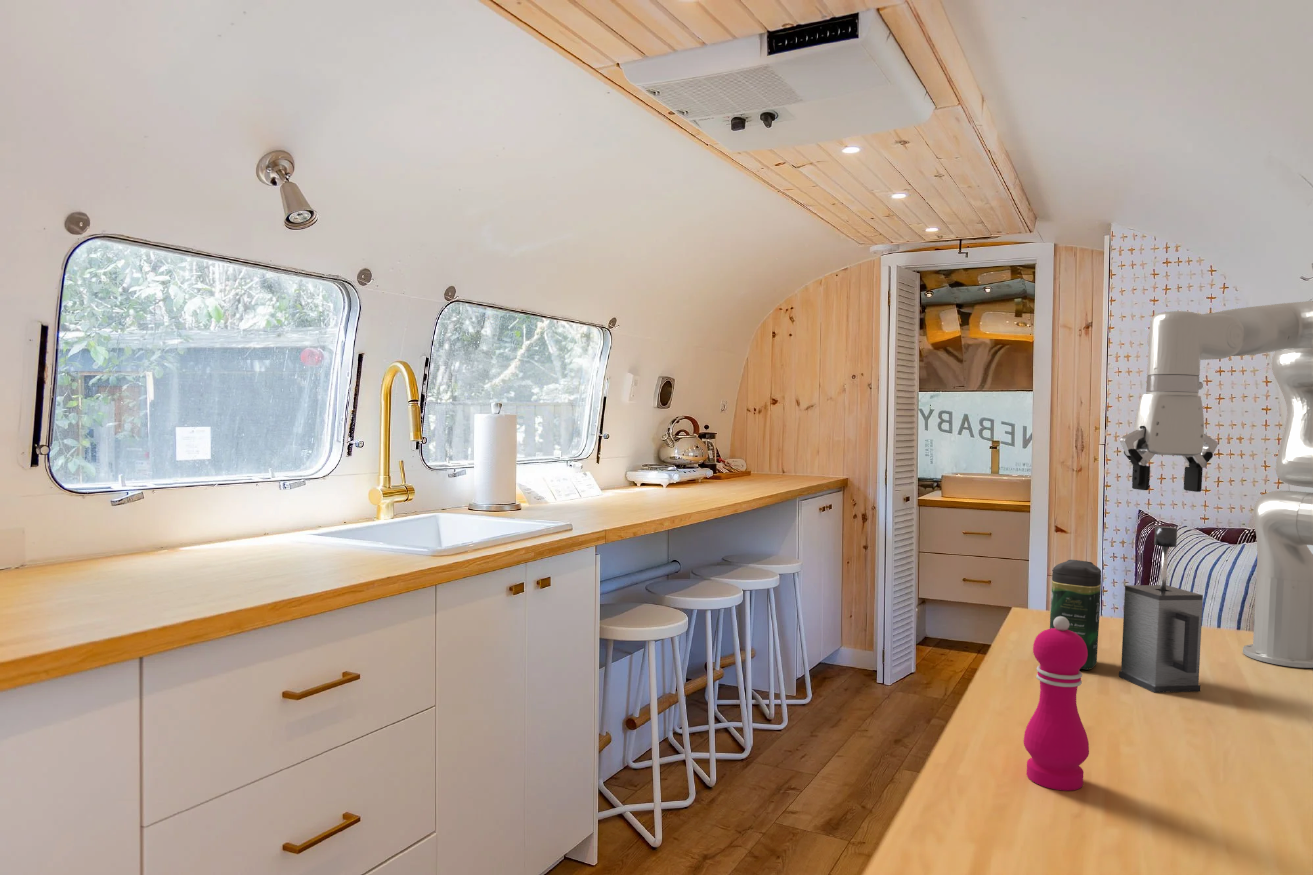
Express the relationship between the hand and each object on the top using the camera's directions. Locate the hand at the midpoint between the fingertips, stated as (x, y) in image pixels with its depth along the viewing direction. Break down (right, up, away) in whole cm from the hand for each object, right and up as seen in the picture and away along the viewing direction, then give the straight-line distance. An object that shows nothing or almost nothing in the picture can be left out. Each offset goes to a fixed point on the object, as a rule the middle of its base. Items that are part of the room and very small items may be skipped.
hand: (1166, 490), depth 146 cm
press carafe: (0, -33, 0) cm, 33 cm away
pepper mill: (-36, -33, -39) cm, 63 cm away
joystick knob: (0, -20, +1) cm, 20 cm away
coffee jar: (-10, -32, +12) cm, 36 cm away
